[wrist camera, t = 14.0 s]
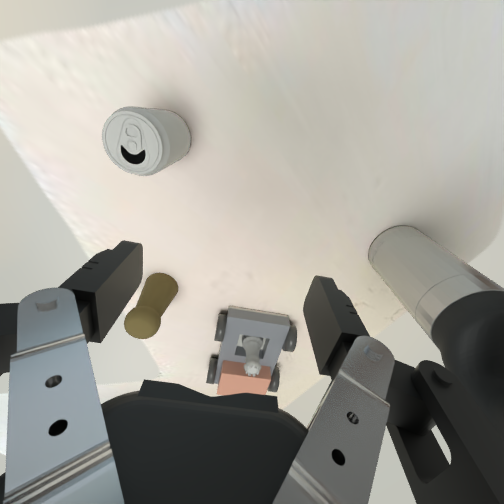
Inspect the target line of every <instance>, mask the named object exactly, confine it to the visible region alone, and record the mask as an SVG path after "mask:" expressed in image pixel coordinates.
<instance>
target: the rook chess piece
mask: <svg viewBox="0 0 504 504" xmlns="http://www.w3.org/2000/svg"><path fill="white" fill-rule="evenodd" d="M242 345H243V348H244V349H245V351H246V359H245V362H246V364H245V365H244V370H245V371H246V374H248V376H251V374H253V376H255V374H257V375H258V374H259V371H260V370H261V365H260V364H259V362H260V359H259V350H260V349H261V347H262V345H263V338H261V337H254V336H248V335H243V336H242Z"/></svg>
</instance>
